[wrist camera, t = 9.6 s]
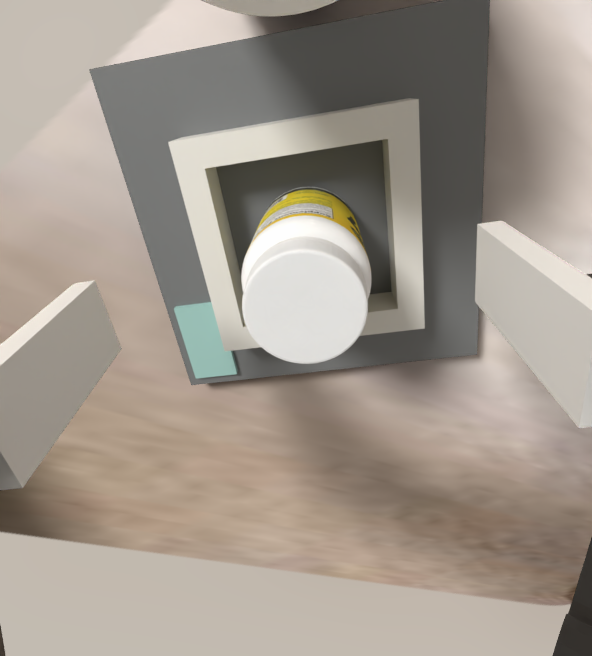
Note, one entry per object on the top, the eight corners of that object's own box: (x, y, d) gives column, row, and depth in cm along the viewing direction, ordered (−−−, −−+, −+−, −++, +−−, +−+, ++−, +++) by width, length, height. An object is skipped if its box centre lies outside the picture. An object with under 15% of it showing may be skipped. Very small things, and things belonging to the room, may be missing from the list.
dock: (196, 373, 27) (182, 406, 24) (101, 70, 20) (65, 67, 17) (470, 343, 25) (489, 375, 22) (479, -3, 18) (510, -21, 15)
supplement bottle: (358, 280, 22) (379, 374, 15) (264, 284, 23) (238, 379, 15) (358, 180, 20) (382, 233, 13) (254, 186, 20) (218, 242, 13)
